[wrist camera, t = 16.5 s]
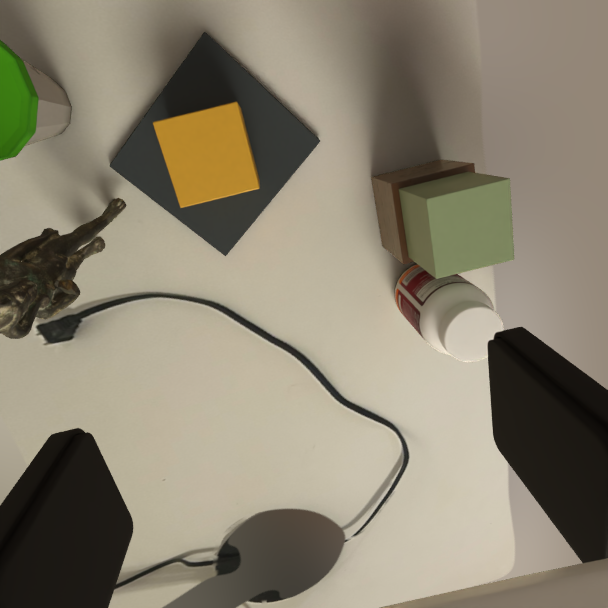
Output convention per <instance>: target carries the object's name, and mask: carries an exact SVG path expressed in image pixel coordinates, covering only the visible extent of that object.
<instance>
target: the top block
mask: <svg viewBox="0 0 608 608" xmlns="http://www.w3.org/2000/svg"><path fill="white" fill-rule="evenodd" d="M153 125H154V129H155V132H156V135H157V138H158V141H159V144H160V147H161V150H162V153H163V156H164V159H165V162H166V165H167V168H168V171H169V174H170V177H171V180H172V183H173V186H174V189H175V193H176V196H177V199H178V202H179V205H180V207H181V208H183V207H187V206H191V205H195V204H199V203H203V202H207V201H212V200H216V199H220V198H224V197H228V196H232V195H236V194H240V193H244V192H248V191H252V190H256V189H259V186H260V180H259V176H258V172H257V169H256V165H255V161H254V157H253V153H252V149H251V145H250V141H249V137H248V134H247V130H246V126H245V122H244V118H243V114H242V110H241V107H240V106H239V104H238V103H237V102H233V103H229V104H225V105H221V106H216V107H212V108H208V109H204V110H200V111H196V112H192V113H188V114H184V115H180V116H176V117H172V118H168V119H163V120H159V121H155V122H153Z"/></svg>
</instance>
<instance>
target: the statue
mask: <svg viewBox="0 0 608 608" xmlns="http://www.w3.org/2000/svg"><path fill="white" fill-rule="evenodd" d="M125 207H126V204H125V202H124V201H123V199H120V198H117V199H113V200H112V202H111V203H110V204H109V205H108V207H107V209H106V210H105V211H104V212H103V214H102V216H100V217H98V218H96V219H94V220H93V221H91V222H88V223H86V224H84V225H81V226H80V227H78V228H77V229H75V230H74V231H73V232H72V233H70V234H66V235H62V236H60V235H59V234H58V230H53V229H52V228H47V229H44V231H43V232H42V234H41V236H38V237H35V238H31V239H28V240H26V241H24V242H22V243H20V244H18V245H16V246H14V247H13V248H11V249H9V250H7V251H6V252H4V253H2V254H1V255H0V333H2V334H3V335H5V336H6V337H9V338H11V339H20V338H23V337H25V336H26V335H27V334H29V332H30V330H31V327H32V324H33V321H34V319H35V317H38V318H41V319H48V318H51V317H53V316H54V315H56V314H57V313H59V312H60V311H62V310H63V309H64V308H66V307H67V306H69V305H70V304H71V303H73V302H74V301H75V300H76V299H77V297H78V296H79V295H80V290H79V288H78V286H77V285H76V284H75V283H74V282H73V281H72V280H73V279H74V277H75V275H76V270H77V269H78V268H79V266H80V264H81V263H82V262H83V260H84V259H86V258H88V257H89V256H91V255H93V254H96V253H98V252H101V251H102V250H103V249H104V248H105V243H104V240H103V239H102V238H101V237H96V238H95V239H94V240H93V241H92V242H91V243H89V244H88V245H86V246H85V247H83V248H82V249H80V250H78V248H79V247H80V246H82V245H84V244H86V243H88V242H90V241H91V240H92V239H93V238H94V237H95V235H97V234H98V233H99V232H100V231H101V230H103V229H104V228H105V227H106V226H107V225H108V224H109V223H110V222H112V220H113V219H114V218H116V217H117V215H119V214H120V213H121V211H122V210H123V209H124V208H125ZM77 250H78V251H77ZM21 261H22V262H21Z"/></svg>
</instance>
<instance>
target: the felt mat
mask: <svg viewBox="0 0 608 608" xmlns="http://www.w3.org/2000/svg"><path fill="white" fill-rule="evenodd" d="M233 102H237V103H238V104H239V106H240V107H241V110H242V114H243V118H244V122H245V126H246V130H247V134H248V137H249V141H250V145H251V149H252V153H253V157H254V161H255V165H256V169H257V172H258V176H259V180H260V186H259V189H256V190H252V191H248V192H244V193H240V194H236V195H232V196H228V197H224V198H220V199H216V200H212V201H207V202H203V203H199V204H195V205H191V206H187V207H183V208H181V207H180V205H179V202H178V199H177V196H176V193H175V189H174V186H173V183H172V180H171V177H170V174H169V171H168V168H167V165H166V162H165V159H164V156H163V153H162V150H161V147H160V144H159V141H158V138H157V135H156V132H155V129H154V125H153V122H155V121H159V120H163V119H168V118H172V117H176V116H180V115H184V114H188V113H192V112H196V111H200V110H204V109H208V108H212V107H216V106H221V105H225V104H229V103H233ZM319 142H320V140H319V139H318V138H317V137H316V136H315V135H313V134H312V133H311V132H310V131H309V130H308V129H307V128H306V127H305V126H304V125H303V124H302V123H301V122H300V121H299V120H298V119H297V118H296V117H294V116H293V115H292V114H291V113H290V112H289V111H288V110H287V109H286V108H285V107H284V106H283V105H282V104H281V103H280V102H279V101H278V100H276V99H275V98H274V97H273V96H272V95H271V94H270V93H269V92H268V91H267V90H266V89H265V88H264V87H263V86H262V85H261V84H260V83H258V82H257V81H256V80H255V79H254V78H253V77H252V76H251V75H250V74H249V73H248V72H247V71H246V70H245V69H244V68H243V67H242V66H241V65H239V64H238V63H237V62H236V61H235V60H234V59H233V58H232V57H231V56H230V55H229V54H228V53H227V52H226V51H225V50H224V49H223V48H221V47H220V46H219V45H218V44H217V43H216V42H215V41H214V40H213V39H212V38H211V37H210V36H209V35H208V34H207V33H206V32H204V33H203V35H202V36H201V38H200V39H199V40H198V42H197V43H196V45H195V46H194V47H193V49H192V50H191V52H190V53H189V54H188V56H187V57H186V59H185V60H184V61H183V63H182V64H181V66H180V67H179V68H178V70H177V71H176V73H175V74H174V75H173V77H172V78H171V80H170V81H169V82H168V84H167V85H166V87H165V88H164V90H163V91H162V92H161V94H160V95H159V97H158V98H157V99H156V101H155V102H154V104H153V105H152V106H151V108H150V109H149V111H148V112H147V113H146V115H145V116H144V118H143V119H142V120H141V122H140V123H139V125H138V126H137V127H136V129H135V130H134V132H133V133H132V134H131V136H130V137H129V139H128V140H127V141H126V143H125V144H124V146H123V147H122V149H121V150H120V151H119V153H118V154H117V156H116V157H115V158H114V160H113V161H112V163H111V164H110V167H111V168H113V169H114V170H115V171H116V172H118V173H119V174H120V175H122V176H123V177H124V178H125V179H127V180H128V181H129V182H131V183H132V184H133V185H135V186H136V187H137V188H138V189H140V190H141V191H142V192H144V193H145V194H146V195H147V196H149V197H150V198H151V199H153V200H154V201H155V202H156V203H158V204H159V205H160V206H162V207H163V208H164V209H165V210H167V211H168V212H169V213H171V214H172V215H173V216H174V217H176V218H177V219H178V220H180V221H181V222H182V223H183V224H185V225H186V226H187V227H189V228H190V229H191V230H192V231H194V232H195V233H196V234H198V235H199V236H200V237H202V238H203V239H204V240H205V241H207V242H208V243H209V244H211V245H212V246H213V247H214V248H216V249H217V250H218V251H220V252H221V253H222V254H223V255H225V256H226V255H227V254H228V253H229V251H230V250H231V249H232V248H233V247H234V245H235V244H236V243H237V242H238V240H239V239H240V238H241V237H242V236H243V234H244V233H245V232H246V231H247V230H248V228H249V227H250V226H251V225H252V223H253V222H254V221H255V220H256V219H257V217H258V216H259V215H260V214H261V213H262V211H263V210H264V209H265V208H266V206H267V205H268V204H269V203H270V202H271V200H272V199H273V198H274V197H275V196H276V194H277V193H278V192H279V191H280V189H281V188H282V187H283V186H284V185H285V183H286V182H287V181H288V180H289V179H290V177H291V176H292V175H293V174H294V172H295V171H296V170H297V169H298V168H299V166H300V165H301V164H302V163H303V162H304V160H305V159H306V158H307V157H308V155H309V154H310V153H311V152H312V151H313V149H314V148H315V147H316V146H317V145H318V143H319Z"/></svg>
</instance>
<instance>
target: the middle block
mask: <svg viewBox="0 0 608 608" xmlns="http://www.w3.org/2000/svg"><path fill="white" fill-rule="evenodd" d="M399 194H400V201H401V208H402V215H403V222H404V229H405V235H406V242H407V249H408V256H409V258H411V259H412V260H413V261H414V262H416V263H417V264H418V265H419V266H421V267H422V268H423V269H424V270H426V271H427V272H428V273H429V274H431V275H432V276H433V277H435V278H436V279H438V278H442V277H446V276H450V275H454V274H458V273H462V272H466V271H470V270H474V269H478V268H482V267H486V266H490V265H494V264H498V263H502V262H506V261H510V260H514V246H513V227H512V210H511V191H510V179H509V178H504V177H498V176H491V175H485V174H479V173H473V172H465V173H461V174H457V175H453V176H449V177H445V178H441V179H437V180H433V181H429V182H425V183H421V184H417V185H413V186H409V187H404V188H400V189H399Z"/></svg>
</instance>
